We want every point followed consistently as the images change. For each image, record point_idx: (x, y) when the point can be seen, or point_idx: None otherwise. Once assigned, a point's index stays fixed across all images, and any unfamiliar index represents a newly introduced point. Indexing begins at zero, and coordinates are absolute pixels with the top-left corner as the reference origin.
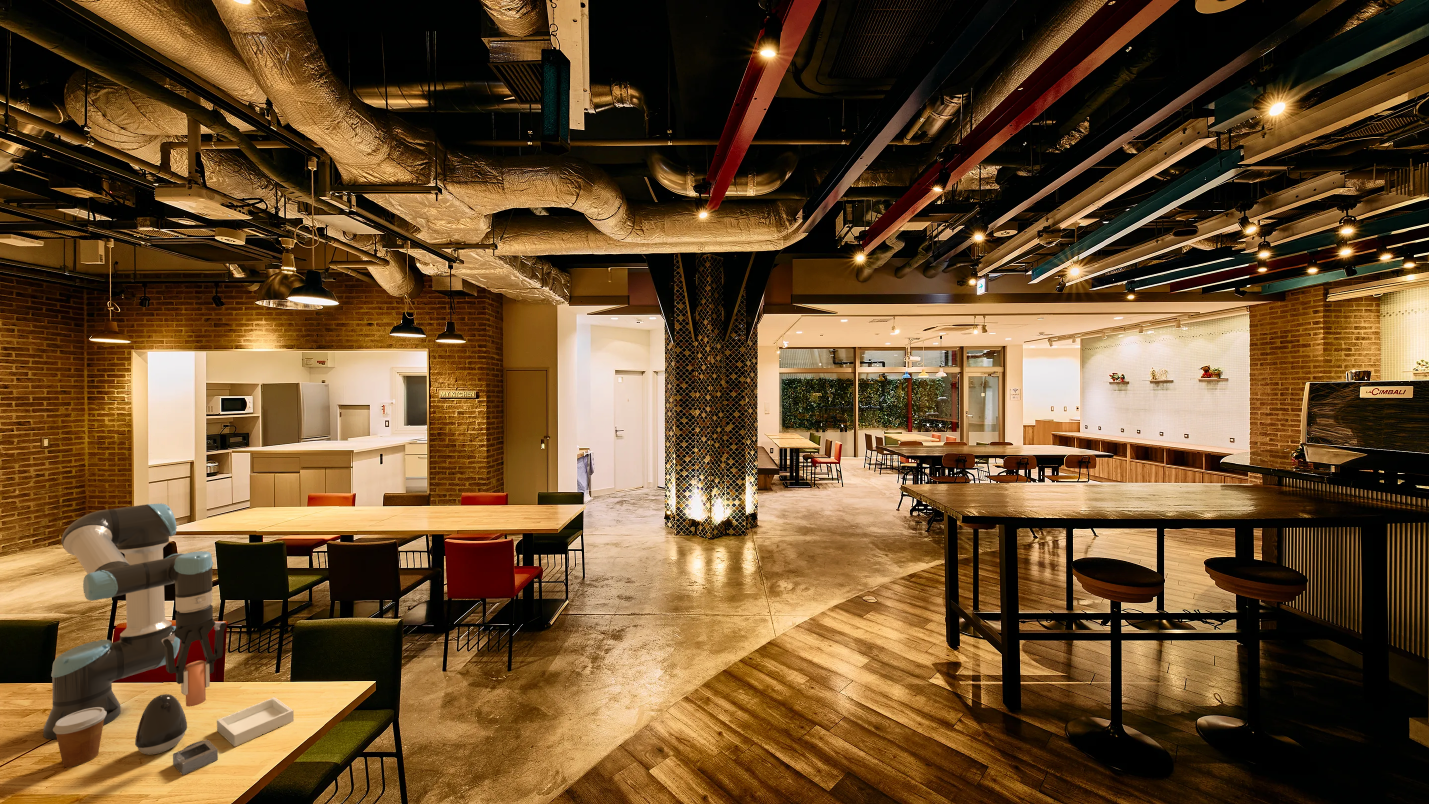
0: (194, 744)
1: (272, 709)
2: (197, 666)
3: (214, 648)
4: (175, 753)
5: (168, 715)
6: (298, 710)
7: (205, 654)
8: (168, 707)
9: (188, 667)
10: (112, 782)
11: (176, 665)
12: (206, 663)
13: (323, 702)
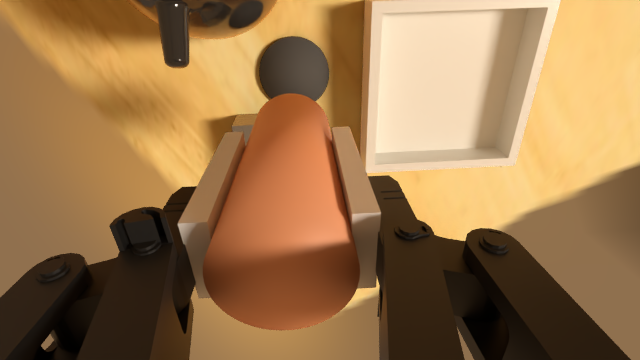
0: (294, 50)
1: (514, 31)
2: (287, 326)
3: (514, 307)
4: (237, 131)
5: (203, 30)
6: (542, 98)
7: (382, 336)
8: (194, 15)
9: (225, 307)
10: (108, 70)
11: (111, 286)
12: (366, 261)
13: (598, 114)
